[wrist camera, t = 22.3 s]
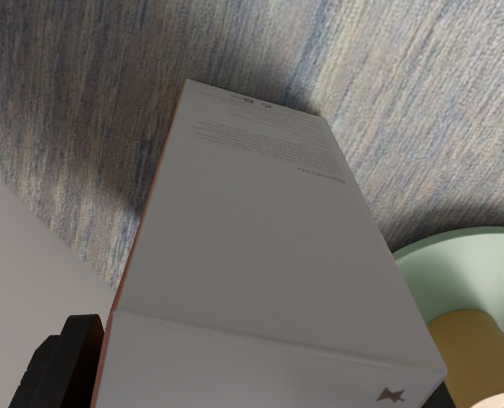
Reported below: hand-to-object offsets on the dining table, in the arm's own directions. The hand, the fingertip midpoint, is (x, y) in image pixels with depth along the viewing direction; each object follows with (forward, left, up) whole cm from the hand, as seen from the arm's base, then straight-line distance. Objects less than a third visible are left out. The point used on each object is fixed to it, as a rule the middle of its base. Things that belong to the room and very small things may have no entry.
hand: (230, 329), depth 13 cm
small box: (0, 0, -9) cm, 9 cm away
